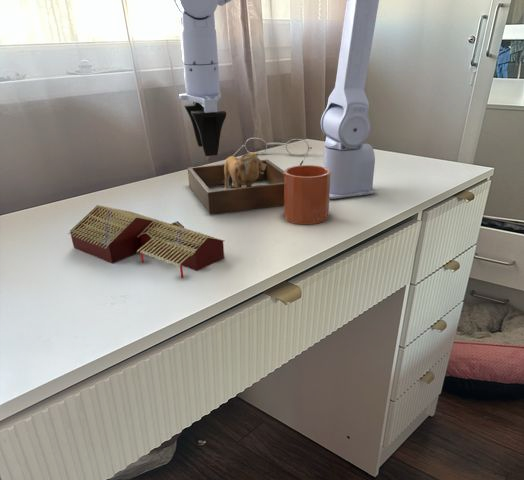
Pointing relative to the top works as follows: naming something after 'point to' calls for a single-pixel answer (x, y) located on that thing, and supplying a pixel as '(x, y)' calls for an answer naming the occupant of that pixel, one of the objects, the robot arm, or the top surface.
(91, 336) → the top surface
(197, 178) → the wooden frame
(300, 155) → the eyeglasses
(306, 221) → the cup
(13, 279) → the top surface
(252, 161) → the lion figurine
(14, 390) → the top surface
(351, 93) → the robot arm
